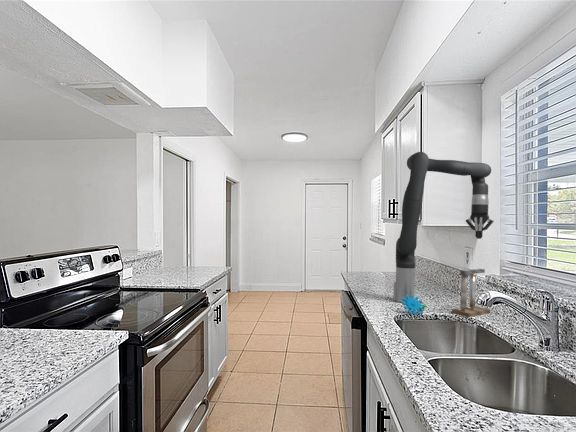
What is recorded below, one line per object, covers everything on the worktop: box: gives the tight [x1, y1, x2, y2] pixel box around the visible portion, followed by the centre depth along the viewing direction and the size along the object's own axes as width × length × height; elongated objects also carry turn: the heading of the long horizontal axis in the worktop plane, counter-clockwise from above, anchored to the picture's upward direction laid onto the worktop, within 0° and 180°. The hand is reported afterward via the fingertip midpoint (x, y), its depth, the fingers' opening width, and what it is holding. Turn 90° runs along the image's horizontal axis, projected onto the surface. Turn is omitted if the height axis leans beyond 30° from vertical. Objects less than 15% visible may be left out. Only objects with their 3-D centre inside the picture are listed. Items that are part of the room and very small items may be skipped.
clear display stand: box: [451, 268, 491, 318], centre depth 169 cm, size 17×8×19 cm, turn 123°
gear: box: [401, 295, 428, 316], centre depth 167 cm, size 11×6×10 cm
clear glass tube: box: [468, 273, 478, 309], centre depth 170 cm, size 3×3×16 cm
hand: (478, 238), depth 187 cm, fingers closed
